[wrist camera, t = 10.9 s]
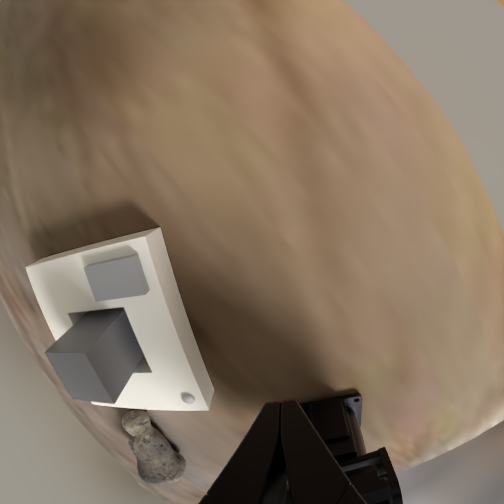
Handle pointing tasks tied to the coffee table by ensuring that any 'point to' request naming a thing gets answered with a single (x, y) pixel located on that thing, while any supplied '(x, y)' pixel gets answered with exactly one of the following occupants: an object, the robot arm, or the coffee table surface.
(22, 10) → the coffee table surface
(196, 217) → the coffee table surface
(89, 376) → the plug
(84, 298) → the socket plate
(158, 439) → the stone
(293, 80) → the coffee table surface
